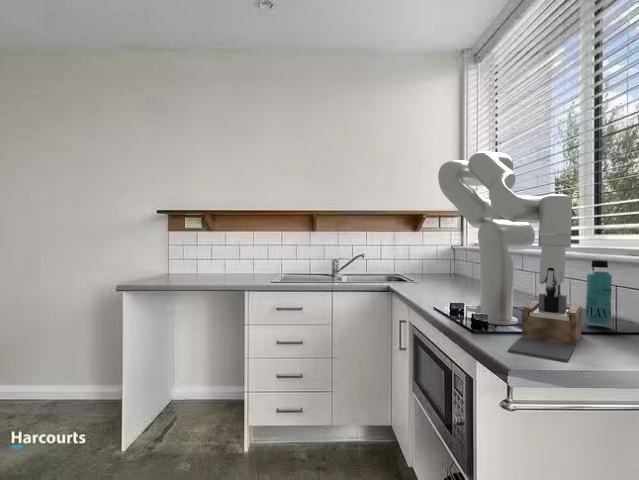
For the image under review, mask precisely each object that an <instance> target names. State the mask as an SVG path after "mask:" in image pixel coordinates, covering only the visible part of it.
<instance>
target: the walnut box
mask: <svg viewBox="0 0 639 480" xmlns="http://www.w3.org/2000/svg"><path fill="white" fill-rule="evenodd" d="M537 306H539V300H533V301H531V302H530V303H528V304H527V305H526V306H524V307H523V309H522V325H521V331H522V332H521V338H527V339H533V340H540V341H546V342H553V343H560V344H566V345H573V346H575V348H576V346H577V344H578V342H579V341H580V338H581V337H582V336H581V335H582V312H583V311H582V310H583V309H582V307H581V305H580V304H572V305H571V306H569V305H567V308H566V309H569V310H568V311H567V315H571V319H570V321H566V320H558V319H549V318H541V317H533V316H529V312H530V311H532V310H533V309H534V308H536V307H537Z"/></svg>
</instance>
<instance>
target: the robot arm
mask: <svg viewBox="0 0 639 480" xmlns="http://www.w3.org/2000/svg"><path fill="white" fill-rule="evenodd" d="M513 171H514V163H513V160H512V158H511V156H509V155H508V154H506V153H504V152H503V153H502V152H492V151H478V152H475V153H474V154H472V155H471V156H470V157H469V158H468V160H456V159H455V160H449V161H446V162H445V163H443V164H441V166H440V168H439V170H438V173H437V175H438V176H437V178H438V185H439V188H440V190H441V192H442V194H443V195H444V196H445V198H447V200H448V201H450V202H451V203H452V205H453V206H455V208H456V209H457V211H458V212H459V213H460V215H461V216H462V217H463V218H464V219H465V220H466V222H467V223H468V224H469V225H470V226H471V227H473V228H475V229H478V230H477V240H478V248H479V254H480V255H479V256H480V258H479V259H480V266H479V267H480V269H479V271H480V274H479V275H480V276H479V281H480V282H479V285H480V286H479V304H476V305H473V304H466V307H465V309H466V311H467V312H470V313H471V312H472V313H475V314H477V313H481V314H487V315H488V321H489V324H491V325H499V326H510V325H511V326H512V325H517V324H518V322H519V320H518V318H517V317H515V316H513V312H514V311H513V308H514V307H513V305H514V303H513V302H514V272H515V271H514V270H515V269H514V261H513V258H512V256H511V254H510V252H509V251H523V250H527V249H529V248H530V247H532V246H533V244H534V243H535V241H536V240H535V238H536V232H535V230H534V227H533V225H531V224H538V242H537V243H538V244H537V246H538V247H539V248H541V252H540V259H539V260H540V262H539V263H540V264H539V275H538V283H539V284H540V285H545V286H544V287H545V288H544V293H545V297H544V311H545V312H554V313H557V312H558V305H559V297H557V295H558V294H562V293H561V292H562V291H561V290H562V287H561V285H562V284H563V283H564V282H565V273H566V272H565V271H566V255H567V253H566V251H567V250H566V249H571V248H572V247H571V245H572V221H573V220H572V218H573V217H572V216H573V213H572V212H573V198H572V197H571V196H569V195H567V194H548V195H544V196H532V195H517V194H516V193H514V192H513V191H512V189H513V187H514V185H515V183H516V179H517V178H516V175H515V173H514V172H513ZM471 186H473V187H476V186H484V187H485V188H486V190H488V191H489V193H488V197H489V199H486V198H484V197H483V196H481V195H480V194H479V193H478V191H477V190H475V188H473V187H471Z"/></svg>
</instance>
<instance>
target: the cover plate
mask: <svg viewBox="0 0 639 480" xmlns="http://www.w3.org/2000/svg"><path fill="white" fill-rule="evenodd" d="M544 297H545V291H544V292H543V291H542V292H539V293H538V301H539V306H537V307H536V308H534V309H533V310H532V311H530V312H529V316H533V317H541V318H549V319H558V320H566V321H570V319H571V315H567V311H568V310H569V309H566V308H567V306H568V305H567V303H568V302H567V300H568V294H566V293H561V294H558V295H557V297H559V305H558V312H557V313H554V312H545V311H544Z"/></svg>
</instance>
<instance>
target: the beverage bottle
mask: <svg viewBox="0 0 639 480" xmlns="http://www.w3.org/2000/svg"><path fill="white" fill-rule="evenodd" d="M590 266H591V267H592V268H602V269H603V268H604V269H605V268H606V269H607V268H609V263H608V260H603V259H594V260H593V259H592V261H591V265H590ZM612 277H613V276H612V275H611V273H610V272H608V271H601V270H591V271H590V272H588V273H587V274H586V297H585V305H584V306H585V309H584V310H585V315H584V316H585V317H584V319H585V322H587V323H591V324H599V325H610V324H611V320H612V319H611V318H612V307H611V306H612V295H613V294H612V292H613V289H612V281H613V280H612Z"/></svg>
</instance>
